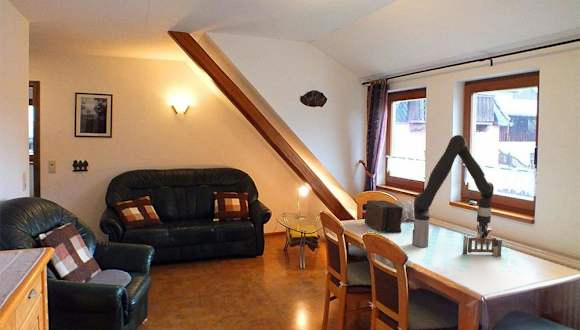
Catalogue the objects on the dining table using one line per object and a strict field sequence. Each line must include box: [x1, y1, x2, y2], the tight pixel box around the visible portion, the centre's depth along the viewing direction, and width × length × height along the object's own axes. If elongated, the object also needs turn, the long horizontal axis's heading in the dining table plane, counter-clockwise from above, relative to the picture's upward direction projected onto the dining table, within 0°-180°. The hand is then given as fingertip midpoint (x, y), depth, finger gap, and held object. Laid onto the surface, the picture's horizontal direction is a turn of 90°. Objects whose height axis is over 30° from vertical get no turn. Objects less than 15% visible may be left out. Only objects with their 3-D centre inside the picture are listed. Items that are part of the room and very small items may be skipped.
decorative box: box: [364, 199, 403, 234], centre depth 309 cm, size 31×20×20 cm
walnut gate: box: [467, 236, 497, 254], centre depth 249 cm, size 16×2×9 cm, turn 91°
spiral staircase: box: [394, 199, 414, 222], centre depth 339 cm, size 18×18×25 cm
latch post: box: [491, 238, 503, 258], centre depth 247 cm, size 5×4×10 cm
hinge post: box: [462, 235, 469, 256], centre depth 249 cm, size 2×2×11 cm
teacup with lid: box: [476, 226, 493, 244], centre depth 280 cm, size 12×9×12 cm
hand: (482, 242), depth 252 cm, fingers closed
